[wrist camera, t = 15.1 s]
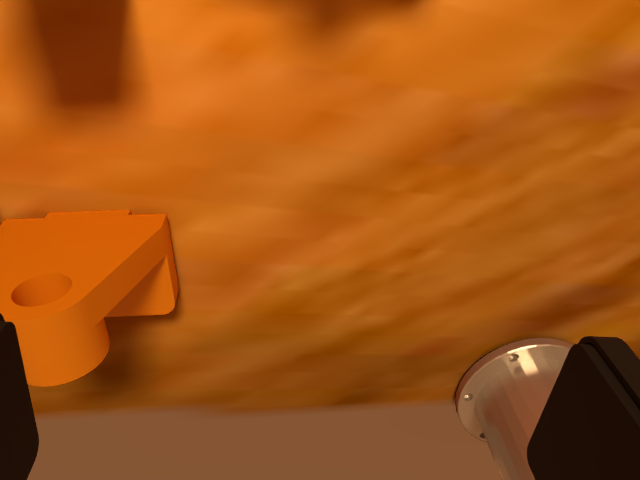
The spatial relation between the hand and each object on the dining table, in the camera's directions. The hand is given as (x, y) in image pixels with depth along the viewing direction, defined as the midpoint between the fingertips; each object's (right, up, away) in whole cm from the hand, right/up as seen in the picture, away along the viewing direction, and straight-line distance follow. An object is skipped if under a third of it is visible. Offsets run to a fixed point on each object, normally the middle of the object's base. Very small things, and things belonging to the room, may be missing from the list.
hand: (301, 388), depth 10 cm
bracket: (-16, +2, +31) cm, 35 cm away
